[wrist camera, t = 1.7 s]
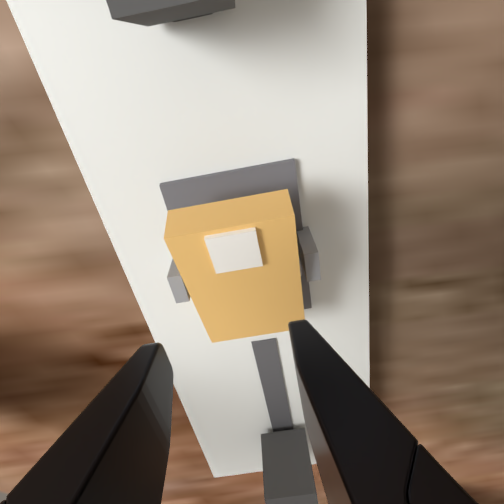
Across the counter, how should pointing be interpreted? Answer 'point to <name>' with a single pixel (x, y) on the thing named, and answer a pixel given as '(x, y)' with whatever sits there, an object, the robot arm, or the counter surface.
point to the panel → (222, 177)
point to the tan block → (239, 263)
